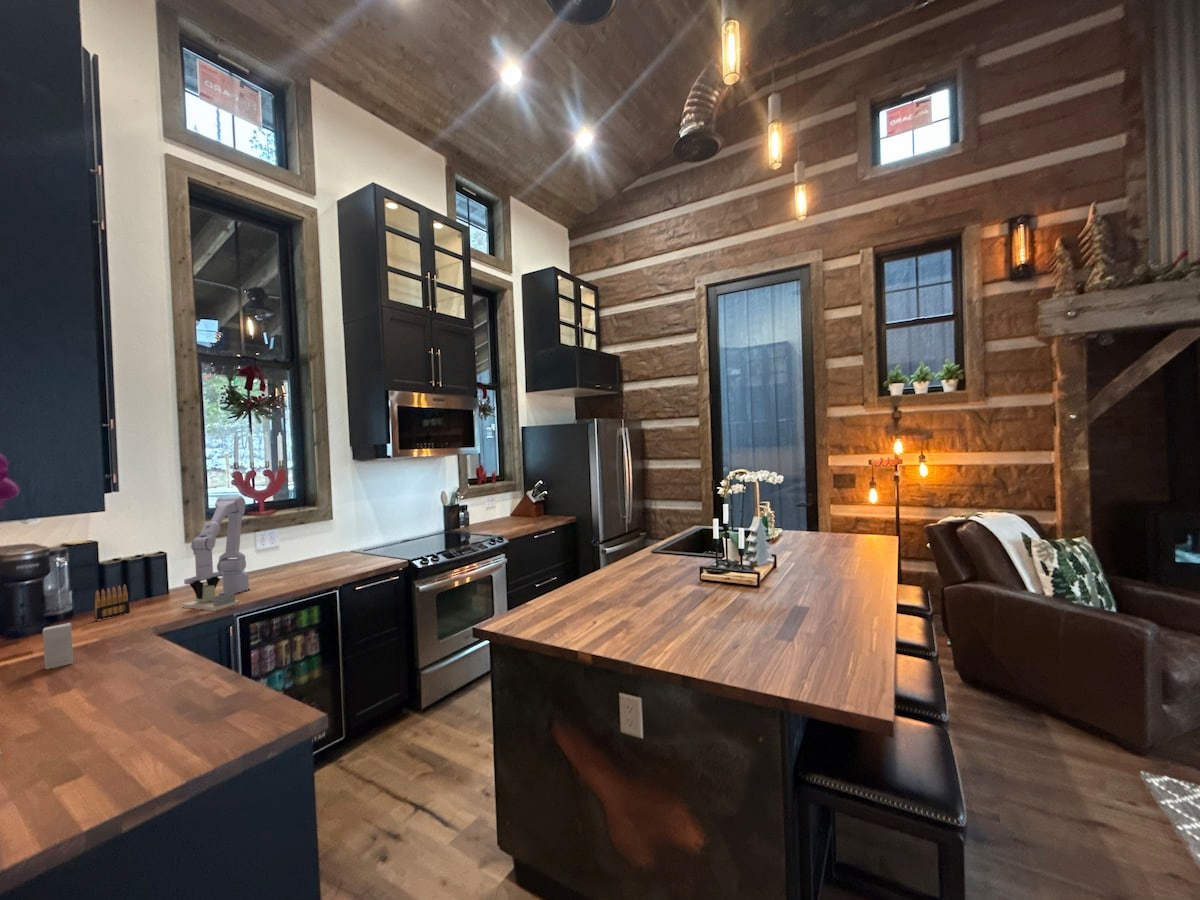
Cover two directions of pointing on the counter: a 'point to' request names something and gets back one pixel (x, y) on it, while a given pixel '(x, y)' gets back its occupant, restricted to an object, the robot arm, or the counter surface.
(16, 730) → the counter surface
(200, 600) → the keeper
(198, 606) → the track board
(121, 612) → the ammunition clip
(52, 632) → the skincare box
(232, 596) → the end stop
